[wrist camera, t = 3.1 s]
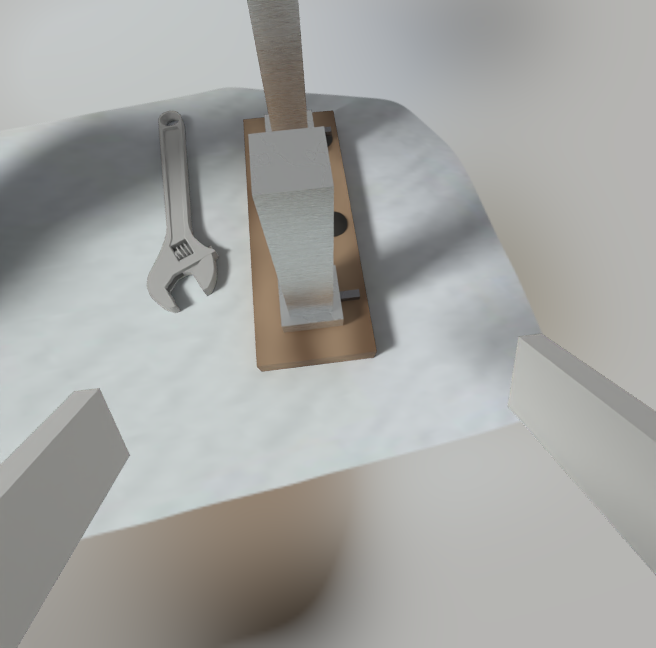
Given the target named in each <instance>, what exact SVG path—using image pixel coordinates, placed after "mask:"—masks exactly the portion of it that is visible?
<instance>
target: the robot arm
mask: <svg viewBox="0 0 656 648" xmlns="http://www.w3.org/2000/svg"><path fill="white" fill-rule="evenodd" d="M508 407H509V408H510V410H511V411H512V412H513V413H514V414H515V415H516V416H517V418H518V419H519V420H520V421H521V422H522V423H523V424H524V426H525V427H526V428H527V429H528V430H529V431H530V432H531V434H532V435H533V436H534V437H535V438H536V439H537V440H538V442H539V443H540V444H541V445H542V446H543V447H544V448H545V449H546V451H547V452H548V453H549V454H550V455H551V456H552V457H553V459H554V460H555V461H556V462H557V463H558V464H559V465H560V467H561V468H562V469H563V470H564V471H565V472H566V474H567V475H568V476H569V477H570V478H571V479H572V480H573V481H574V482H575V484H576V485H577V486H578V487H579V488H580V489H581V491H582V492H583V493H584V494H585V495H586V496H587V497H588V499H590V501H591V502H592V503H593V504H594V505H595V506H596V508H597V509H598V510H599V511H600V512H601V513H602V515H603V516H604V517H605V518H606V519H607V520H608V521H609V523H610V524H611V525H612V526H613V527H614V528H615V529H616V530H617V532H618V533H619V534H620V535H621V536H622V537H623V539H624V540H625V541H626V542H627V543H628V544H629V545H630V546H631V548H632V549H633V550H634V551H635V552H636V553H637V555H638V556H639V557H640V558H641V559H642V560H643V561H644V562H645V564H646V565H647V566H648V567H649V568H650V569H651V571H652V572H653V573H654V574H655V575H656V411H654V410H653V409H651V408H650V407H648V406H647V405H646V404H644V403H643V402H641V401H640V400H638V399H637V398H635V397H634V396H632V395H631V394H629V393H628V392H626V391H625V390H623V389H622V388H621V387H619V386H618V385H616V384H615V383H613V382H612V381H610V380H609V379H607V378H606V377H605V376H603V375H602V374H600V373H599V372H597V371H596V370H594V369H593V368H591V367H590V366H588V365H587V364H586V363H584V362H583V361H581V360H579V359H578V358H577V357H575V356H574V355H572V354H571V353H569V352H568V351H566V350H565V349H563V348H562V347H561V346H559V345H558V344H556V343H555V342H553V341H552V340H550V339H549V338H547V337H546V336H545V335H543V334H534V335H526V336H518V342H517V348H516V355H515V361H514V368H513V374H512V381H511V387H510V394H509V400H508ZM129 456H130V454H129V452H128V450H127V448H126V446H125V443H124V441H123V439H122V437H121V435H120V432H119V430H118V428H117V426H116V424H115V421H114V419H113V417H112V415H111V412H110V410H109V408H108V406H107V404H106V401H105V399H104V397H103V395H102V393H101V390H100V388H97V389H89V390H81V391H74V392H73V393H72V394H71V395H70V396H69V397H68V398H67V399H66V400H65V401H64V402H63V403H62V404H61V405H60V406H59V407H58V408H57V409H56V410H55V411H54V412H53V413H52V414H51V415H50V416H49V417H48V418H47V419H46V420H45V421H44V422H43V423H42V424H41V425H40V426H39V427H38V428H37V429H36V430H35V431H34V432H33V433H32V434H31V435H30V436H29V437H28V438H27V439H26V440H25V441H24V442H23V443H22V444H21V445H20V446H19V447H18V448H17V449H16V450H15V451H14V452H13V453H12V454H11V455H10V456H9V457H8V458H7V459H6V460H5V461H4V462H3V463H2V464H1V465H0V648H17V647H18V645H19V644H20V642H21V640H22V639H23V637H24V635H25V633H26V632H27V630H28V628H29V627H30V625H31V623H32V621H33V620H34V618H35V616H36V615H37V613H38V611H39V609H40V608H41V606H42V604H43V602H44V601H45V599H46V598H47V596H48V594H49V592H50V591H51V589H52V587H53V586H54V584H55V582H56V580H57V579H58V577H59V575H60V574H61V572H62V570H63V569H64V567H65V565H66V563H67V562H68V560H69V558H70V556H71V555H72V553H73V551H74V550H75V548H76V546H77V545H78V543H79V541H80V540H81V538H82V536H83V534H84V533H85V531H86V529H87V528H88V526H89V524H90V522H91V521H92V519H93V517H94V516H95V514H96V512H97V510H98V509H99V507H100V505H101V504H102V502H103V500H104V499H105V497H106V495H107V493H108V492H109V490H110V488H111V487H112V485H113V483H114V481H115V480H116V478H117V476H118V475H119V473H120V471H121V469H122V468H123V466H124V464H125V463H126V461H127V459H128V458H129Z"/></svg>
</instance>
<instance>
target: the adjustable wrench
mask: <svg viewBox="0 0 656 648" xmlns="http://www.w3.org/2000/svg"><path fill="white" fill-rule="evenodd" d="M171 121H178V122H177V123H176V124H174V125H171V126H166V125H167V124H168V123H169V122H171ZM158 123H159V136H160V149H161V161H162V174H163V187H164V200H165V212H166V225H167V229H166V236H165V240H164V243H163V245H162V248H161V251H160V253H159V255H158V257H157V259H156V261H155V263H154V265H153V267H152V269H151V271H150V272H149V275H148V279H147V289H148V292H149V294H150V296H151V297H152V299H153V300H154V301H155V302H157V303H158V304H159V305H160V306H161V307H163V308H164V309H165V310H167V311H170V312H173V313H178V312H180V309H179V307H178V306H177V304H176V302H175V301H174V299H173V297H172V295H171V294H170V293H171V291H172V290H173V288H174V287H175V285H176V284H177V282H178V281H179V280H180V279H182V278H184V277H186V276H188V275H194V277H195V279H196V280H197V282H198V283H199V285H200V287H201V288H202V290H203V291H204V292H205V294H206V295H207V296H208V295H210V294H212V292H213V290H214V288H215V285H216V282H217V274H218V273H217V265H216V261H215V260H216V259H217V258H219V256H218V255H217V253H216V251H215V250H214V249H213V248H212V247H211V246H209V247H205V246H204V245H202V244H201V243H200V242H199V241H198V240H197V239H195V238H194V235H193V231H192V219H191V205H190V192H189V178H188V164H187V151H186V137H185V125H184V122H183V120H182V117H181V115H180V114H179V113H178V112H176V111H167V112H165V113H163V114H162V115H160V117H159V119H158Z"/></svg>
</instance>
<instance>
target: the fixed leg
mask: <svg viewBox="0 0 656 648" xmlns="http://www.w3.org/2000/svg"><path fill="white" fill-rule="evenodd" d="M247 3H248V8H249V13H250V18H251V23H252V29H253V34H254V40H255V45H256V50H257V56H258V61H259V66H260V71H261V76H262V82H263V87H264V93H265V98H266V103H267V108H268V114H266V115H264V117H265V129H266V132H273V131H282V130H292V129H302V128H312V127H314V123H313V116H312V110H306V97H305V84H304V71H303V58H302V45H301V31H300V18H299V5H298V0H247ZM324 129H325V135H326V137H330V136H332V131H331V126H330V127H324Z"/></svg>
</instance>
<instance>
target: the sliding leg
mask: <svg viewBox="0 0 656 648" xmlns="http://www.w3.org/2000/svg"><path fill="white" fill-rule="evenodd" d="M248 138H249V155H250V172H251V188H252V197H253V200H254V203H255V207H256V210H257V213H258V216H259V219H260V223H261V226H262V229H263V232H264V235H265V238H266V242H267V245H268V248H269V251H270V254H271V258H272V261H273V264H274V267H275V270H276V273H277V278H278V290H279V302H280V314H281V326H282V329H283V331H284V333H285V332H293V331H302V330H310V329H318V328H326V327H334V326H343V312H342V306H341V302H343V301H351V300H359V299H360V293H359V289H356V290H348V291H339V286H338V279H337V273H336V266H335V265H333V249H334V184H333V178H332V172H331V166H330V159H329V153H328V147H327V141H326V135H325V129H324V126H321V127H312V128H302V129H292V130H282V131H273V132H263V133H253V134H248Z"/></svg>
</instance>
